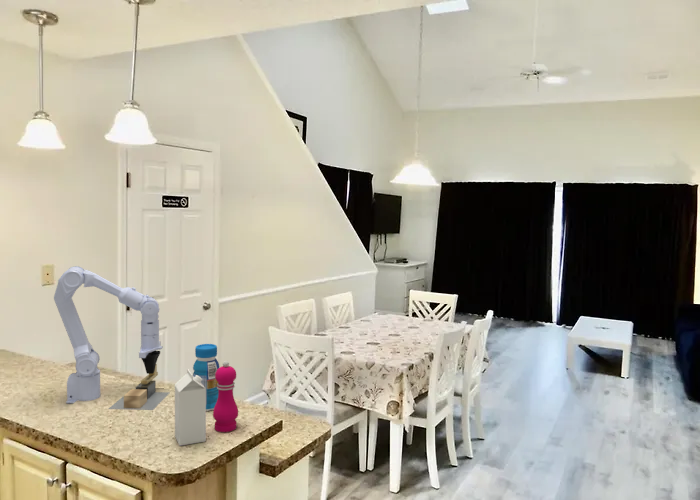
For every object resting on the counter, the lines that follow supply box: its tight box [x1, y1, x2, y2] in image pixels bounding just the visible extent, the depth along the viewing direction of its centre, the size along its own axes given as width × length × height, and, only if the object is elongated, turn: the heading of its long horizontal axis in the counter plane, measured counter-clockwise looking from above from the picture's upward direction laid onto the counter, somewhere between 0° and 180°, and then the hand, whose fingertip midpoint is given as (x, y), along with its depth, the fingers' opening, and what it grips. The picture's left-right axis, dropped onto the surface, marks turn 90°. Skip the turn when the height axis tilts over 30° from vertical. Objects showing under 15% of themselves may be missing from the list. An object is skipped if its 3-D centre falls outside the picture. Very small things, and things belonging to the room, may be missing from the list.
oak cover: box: [123, 388, 147, 408], centre depth 173 cm, size 5×6×4 cm
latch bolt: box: [140, 363, 159, 384], centre depth 184 cm, size 2×10×4 cm, turn 0°
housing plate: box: [108, 380, 171, 411], centre depth 177 cm, size 14×16×5 cm
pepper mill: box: [212, 360, 239, 433], centre depth 158 cm, size 7×7×20 cm
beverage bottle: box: [192, 343, 220, 412], centre depth 174 cm, size 8×8×20 cm
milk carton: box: [174, 368, 207, 447], centre depth 150 cm, size 7×7×19 cm
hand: (150, 373), depth 185 cm, fingers closed
